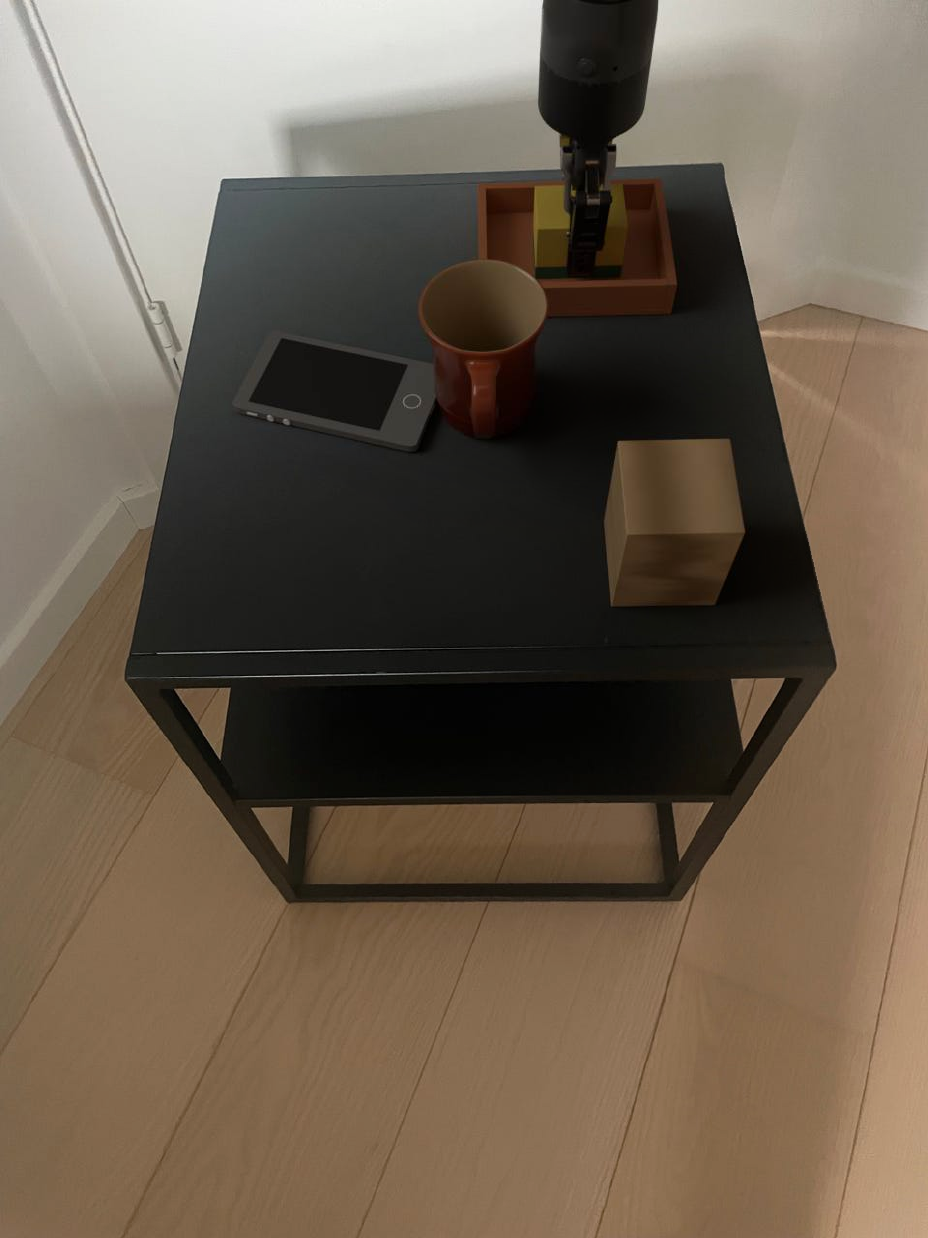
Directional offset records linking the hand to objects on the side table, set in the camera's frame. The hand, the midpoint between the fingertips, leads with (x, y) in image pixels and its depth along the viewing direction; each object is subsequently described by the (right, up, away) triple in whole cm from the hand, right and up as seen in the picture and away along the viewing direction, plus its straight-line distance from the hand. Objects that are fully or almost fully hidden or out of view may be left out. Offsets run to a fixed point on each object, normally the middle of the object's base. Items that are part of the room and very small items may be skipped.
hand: (577, 248), depth 79 cm
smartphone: (-19, -13, -5) cm, 23 cm away
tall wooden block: (+4, -27, -13) cm, 30 cm away
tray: (0, -1, +1) cm, 1 cm away
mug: (-8, -16, -6) cm, 19 cm away
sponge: (0, 0, +1) cm, 1 cm away
